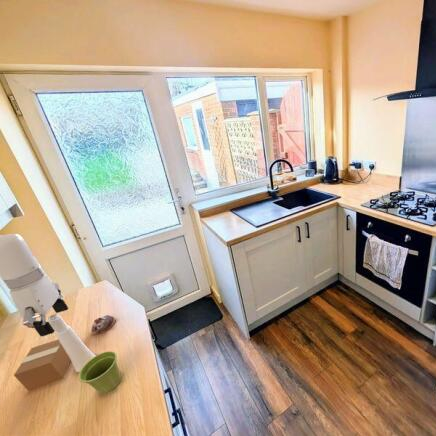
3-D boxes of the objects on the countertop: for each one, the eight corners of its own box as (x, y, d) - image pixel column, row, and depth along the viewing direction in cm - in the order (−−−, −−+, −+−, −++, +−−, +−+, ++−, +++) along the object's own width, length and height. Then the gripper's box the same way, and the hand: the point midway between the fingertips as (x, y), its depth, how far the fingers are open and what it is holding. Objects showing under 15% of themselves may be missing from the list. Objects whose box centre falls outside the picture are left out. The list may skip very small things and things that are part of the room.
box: (27, 391, 76) (12, 374, 73) (43, 363, 85) (31, 347, 82) (63, 378, 79) (50, 362, 76) (75, 352, 88) (64, 337, 84)
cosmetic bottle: (79, 375, 80) (43, 327, 70) (71, 367, 83) (36, 319, 73) (99, 359, 84) (68, 312, 75) (92, 352, 87) (61, 306, 78)
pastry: (92, 338, 93) (86, 328, 91) (91, 326, 98) (86, 317, 96) (117, 326, 97) (111, 316, 95) (114, 315, 103) (109, 306, 101)
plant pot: (84, 396, 73) (70, 378, 69) (111, 366, 81) (100, 348, 78) (108, 403, 71) (95, 384, 67) (134, 371, 79) (123, 353, 75)
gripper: (25, 264, 74) (53, 307, 81) (-15, 301, 59) (24, 349, 66) (55, 257, 76) (80, 299, 84) (24, 292, 62) (58, 339, 69)
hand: (55, 321), depth 75 cm, fingers open, 9 cm apart
